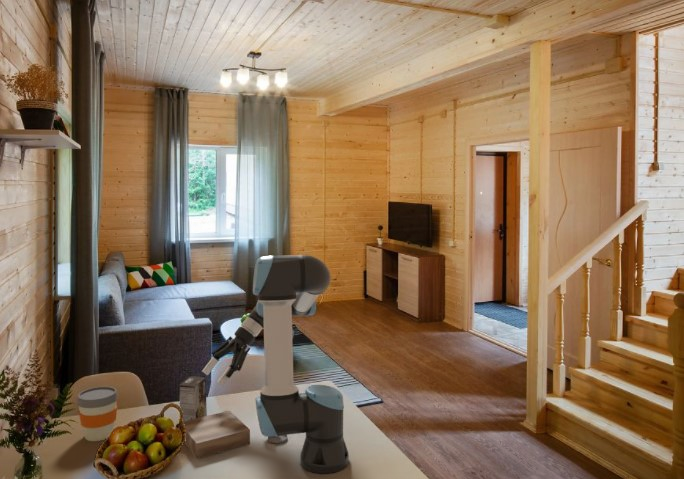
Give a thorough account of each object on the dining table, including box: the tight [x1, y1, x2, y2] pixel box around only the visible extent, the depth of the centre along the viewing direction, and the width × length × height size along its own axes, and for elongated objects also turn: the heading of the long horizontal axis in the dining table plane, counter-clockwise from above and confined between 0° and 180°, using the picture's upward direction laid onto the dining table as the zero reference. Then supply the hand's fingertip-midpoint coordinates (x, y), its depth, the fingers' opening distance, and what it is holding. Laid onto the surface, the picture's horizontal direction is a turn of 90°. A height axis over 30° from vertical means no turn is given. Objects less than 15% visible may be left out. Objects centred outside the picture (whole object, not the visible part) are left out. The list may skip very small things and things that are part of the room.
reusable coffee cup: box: [76, 386, 118, 442], centre depth 184 cm, size 13×13×15 cm
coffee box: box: [178, 375, 208, 421], centre depth 193 cm, size 9×6×16 cm
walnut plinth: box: [183, 410, 251, 460], centre depth 181 cm, size 18×18×5 cm
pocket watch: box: [267, 435, 288, 444], centre depth 182 cm, size 8×8×10 cm
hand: (212, 378), depth 198 cm, fingers open, 13 cm apart
